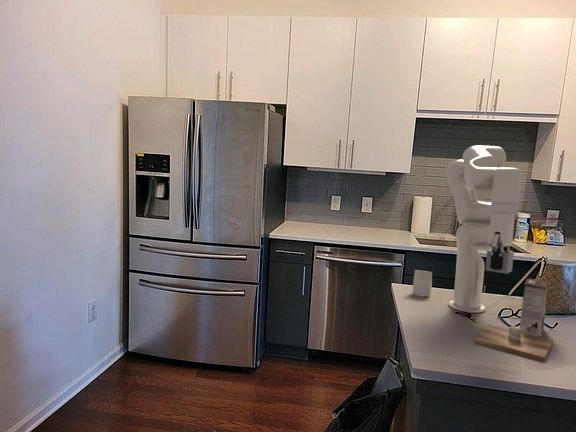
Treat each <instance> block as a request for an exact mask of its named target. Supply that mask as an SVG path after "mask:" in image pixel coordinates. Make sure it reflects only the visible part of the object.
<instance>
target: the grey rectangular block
mask: <svg viewBox="0 0 576 432" xmlns="http://www.w3.org/2000/svg"><path fill="white" fill-rule="evenodd" d="M432 284H433V271H426V270H421V269H420V270H417V269H414V276H413V281H412V294H417V295H416V296H418V295H423V296H422V297H425V296H428V297H427V298H430V297H431V296H432ZM430 295H431V296H430Z"/></svg>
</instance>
